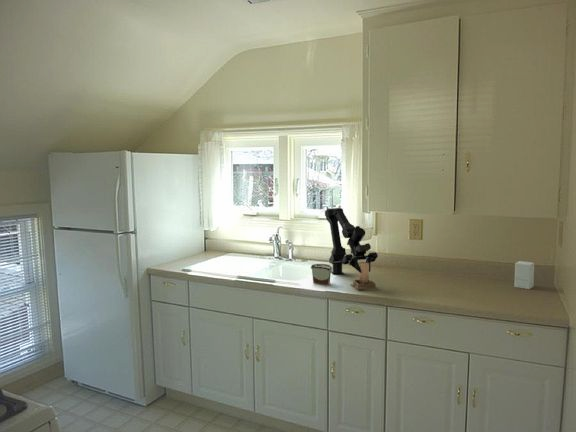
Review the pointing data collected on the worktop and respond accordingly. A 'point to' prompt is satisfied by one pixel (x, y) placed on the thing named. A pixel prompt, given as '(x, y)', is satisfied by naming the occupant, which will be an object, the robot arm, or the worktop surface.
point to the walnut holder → (364, 285)
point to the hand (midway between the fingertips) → (365, 271)
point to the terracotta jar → (364, 273)
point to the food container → (321, 273)
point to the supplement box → (524, 274)
